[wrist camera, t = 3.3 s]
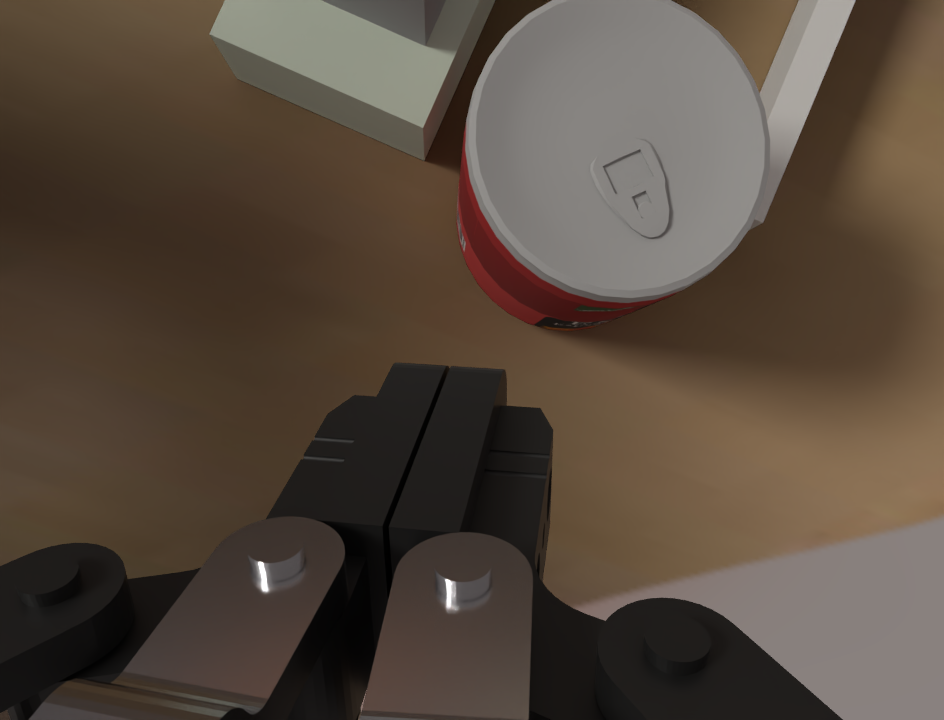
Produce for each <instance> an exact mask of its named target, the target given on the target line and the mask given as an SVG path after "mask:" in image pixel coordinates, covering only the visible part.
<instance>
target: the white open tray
mask: <svg viewBox="0 0 944 720" xmlns="http://www.w3.org/2000/svg"><path fill="white" fill-rule="evenodd" d="M855 1H856V0H799V1H798V3H797V6H796V8H795V11H794V13H793V15H792V18H791V20H790V22H789V25H788V27H787V30H786V32H785V34H784V37H783V39H782V41H781V44H780V46H779V49H778V51H777V53H776V56H775V58H774V61H773V63H772V65H771V68H770V70H769V72H768V75H767V77H766V80H765V82H764V84H763V87H762V89H761V91H760V97H761V100H762V103H763V105H764V108H765V112H766V118H767V124H768V130H769V135H770V170H769V175H768V179H767V184H766V189H765V193H764V198H763V201H762V203H761V205H760V208H759V210H758V212H757V214H756V217H755V219H754V221H753V224H752V226H751V227H750V229H749V230H751V229H753V228H754V227H756V226H758V225H760V224H762V223H763V222H764V219H765V217H766V215H767V212H768V210H769V207H770V205H771V203H772V200H773V198H774V195H775V193H776V191H777V188H778V186H779V183H780V181H781V179H782V176H783V174H784V171H785V169H786V166H787V164H788V162H789V159H790V157H791V154H792V152H793V150H794V147H795V145H796V142H797V140H798V138H799V135H800V133H801V130H802V128H803V126H804V123H805V121H806V118H807V116H808V114H809V111H810V109H811V106H812V104H813V102H814V99H815V97H816V94H817V92H818V90H819V87H820V85H821V82H822V80H823V78H824V75H825V73H826V70H827V68H828V66H829V63H830V61H831V58H832V56H833V54H834V51H835V49H836V46H837V44H838V42H839V39H840V37H841V34H842V32H843V30H844V27H845V25H846V22H847V20H848V18H849V15H850V13H851V10H852V8H853V6H854V3H855ZM494 2H495V0H225V1H224V4H223V6H222V8H221V10H220V12H219V14H218V17H217V19H216V21H215V23H214V25H213V27H212V30H211V32H210V36H211V37H212V39H213V41H214V42H215V44H216V46H217V47H218V49H219V50H220V52H221V54H222V55H223V57H224V59H225V60H226V62H227V63H228V65H229V67H230V68H231V70H232V71H233V73H234V75H235V76H236V78H237V79H239V80H241V81H243V82H245V83H248V84H250V85H252V86H255V87H257V88H259V89H261V90H264V91H266V92H268V93H271V94H273V95H275V96H277V97H280V98H282V99H284V100H287V101H289V102H291V103H293V104H296V105H298V106H300V107H302V108H305V109H307V110H309V111H312V112H314V113H316V114H318V115H321V116H323V117H325V118H328V119H330V120H332V121H334V122H337V123H339V124H341V125H343V126H346V127H348V128H350V129H353V130H355V131H357V132H359V133H362V134H364V135H366V136H369V137H371V138H373V139H375V140H378V141H380V142H382V143H385V144H387V145H389V146H391V147H394V148H396V149H398V150H400V151H403V152H405V153H407V154H410V155H412V156H414V157H416V158H419V159H421V160H423V161H425V158H426V156H427V154H428V152H429V149H430V147H431V145H432V143H433V140H434V138H435V136H436V133H437V131H438V129H439V127H440V124H441V122H442V120H443V118H444V115H445V113H446V111H447V109H448V106H449V104H450V102H451V100H452V97H453V95H454V93H455V90H456V88H457V86H458V84H459V81H460V79H461V77H462V75H463V72H464V70H465V68H466V66H467V63H468V61H469V59H470V57H471V54H472V52H473V50H474V47H475V45H476V43H477V41H478V38H479V36H480V34H481V32H482V29H483V27H484V25H485V23H486V20H487V18H488V16H489V14H490V11H491V9H492V7H493V4H494ZM749 230H748V231H749Z"/></svg>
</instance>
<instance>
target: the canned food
mask: <svg viewBox="0 0 944 720" xmlns="http://www.w3.org/2000/svg"><path fill="white" fill-rule="evenodd" d="M769 170H770V135H769V130H768V124H767V118H766V112H765V108H764V105H763V103H762V100H761V97H760V94H759V92H758V89H757V86H756V84H755V81H754V79H753V77H752V76H751V74H750V72H749V71H748V69H747V67H746V66H745V64H744V62H743V61H742V59H741V57H740V56H739V54H738V53H737V52H736V51H735V50H734V48H733V47H732V46H731V45H730V44H729V43H728V42H727V40H726V39H725V38H724V37H723V36H722V35H721V34H720V33H719V31H717V30H716V29H715V28H714V27H712V26H711V25H710V24H708V23H707V22H706V21H705V20H703V19H702V18H701V17H700V16H698V15H697V14H696V13H694V12H692V11H690V10H689V9H687V8H685V7H683V6H681V5H679V4H677V3H675V2H673V1H671V0H552V1H550V2H548V3H547V4H545V5H543V6H541V7H540V8H538V9H536V10H534V11H533V12H531V13H529V14H528V15H526V16H525V17H524V18H523V19H522V20H521V21H520V22H519V23H518V24H516V25H515V26H514V27H513V28H512V29H511V30H510V31H509V32H507V33H506V35H505V36H504V37H503V39H502V40H501V41H500V43H499V44H498V45H497V47H496V48H495V50H494V51H493V52H492V54H491V55H490V56H489V58H488V60H487V62H486V64H485V66H484V68H483V71H482V73H481V75H480V77H479V79H478V81H477V84H476V86H475V88H474V90H473V93H472V98H471V102H470V106H469V111H468V115H467V119H466V126H465V131H464V137H463V148H462V158H461V169H460V179H459V189H458V200H457V223H456V224H457V230H458V237H459V243H460V247H461V250H462V253H463V255H464V258H465V261H466V264H467V266H468V268H469V270H470V271H471V273H472V275H473V276H474V278H475V280H476V281H477V283H478V285H479V286H480V287H481V288H482V289H483V290H484V292H485V293H486V294H487V295H488V296H489V297H490V298H491V300H492V301H494V302H495V303H496V304H497V305H499V306H500V307H501V308H503V309H504V310H505V311H506V312H508V313H509V314H511V315H513V316H515V317H517V318H519V319H520V320H522V321H524V322H526V323H528V324H532V325H535V326H539V327H542V328H546V329H551V330H564V331H573V330H580V329H588V328H592V327H595V326H598V325H601V324H604V323H607V322H610V321H612V320H614V319H617V318H619V317H622V316H624V315H627V314H629V313H631V312H634V311H636V310H639V309H641V308H643V307H646V306H648V305H651V304H653V303H656V302H658V301H660V300H663V299H665V298H668V297H670V296H672V295H674V294H676V293H677V292H680V291H682V290H684V289H686V288H687V287H689V286H691V285H692V284H694V283H696V282H697V281H699V280H701V279H702V278H704V277H705V276H707V275H709V274H710V273H711V272H712V271H713V270H714V269H715V268H716V267H717V266H718V265H719V264H720V263H721V262H722V261H723V260H725V259H726V258H727V257H728V256H729V255H730V254H731V253H732V252H733V251H734V250H735V249H736V247H737V246H738V244H739V243H740V242H741V240H742V239H743V237H744V236H745V234H746V233H747V232H748V230H749V229H750V227H751V226H752V224H753V221H754V219H755V217H756V214H757V212H758V210H759V208H760V205H761V203H762V201H763V198H764V193H765V189H766V184H767V179H768V175H769Z"/></svg>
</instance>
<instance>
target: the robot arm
mask: <svg viewBox="0 0 944 720" xmlns="http://www.w3.org/2000/svg"><path fill="white" fill-rule="evenodd" d="M552 449H553V429H552V427H551V426H550V424H549V422H548V420H547V419H546V417H545V415H544V414H543V412H542V410H541V409H540V408H530V407H516V406H507V381H506V372H505V370H504V369H488V368H472V367H456V366H451V367H450V368H449V366H443V365H427V364H411V363H394V364H393V366H392V368H391V370H390V371H389V373H388V375H387V377H386V379H385V381H384V383H383V385H382V387H381V389H380V391H379V393H378V395H377V397H372V396H358V395H354V396H352V397H351V398H350V399H348V400H347V401H345V402H344V403H342V404H341V405H340V406H338V407H337V408H335V409H334V410H332V411H331V412H330V413H328V414H327V416H326V418H325V420H324V421H323V423H322V425H321V426H320V428H319V430H318V431H317V433H316V435H315V440H314V441H312V442H311V443H310V445H309V447H308V448H307V450H306V452H305V453H304V459H303V460H300V462H299V464H298V465H297V467H296V469H295V470H294V472H293V474H292V476H291V477H290V479H289V481H288V482H287V484H286V486H285V487H284V489H283V491H282V493H281V494H280V496H279V498H278V499H277V501H276V503H275V504H274V506H273V508H272V510H271V511H270V513H269V515H268V516H267V518H266V520H262V521H258V522H255V523H252V524H250V525H247V526H245V527H243V528H241V529H239V530H237V531H236V532H234V533H233V534H231V535H230V536H228V537H227V538H226V539H225V540H223V541H222V542H221V543H220V545H219V546H218V547H217V548H216V549H215V550H214V552H213V553H212V554H211V556H210V557H209V558H208V560H207V561H206V562H205V564H204V565H203V566H202V568H198V569H194V570H190V571H184V572H179V573H171V574H164V575H156V576H149V577H141V578H134V579H127V575H126V571H125V567H124V564H123V561H122V560H121V558H120V557H119V556H118V555H117V554H116V553H115V552H114V551H112V550H110V549H108V548H106V547H103V546H100V545H96V544H89V543H70V544H62V545H56V546H51V547H48V548H44V549H41V550H38V551H35V552H33V553H30V554H27V555H25V556H23V557H20V558H18V559H16V560H14V561H11V562H9V563H7V564H4V565H2V566H0V713H1V712H3V711H5V710H6V709H7V711H8V713H9V716H10V719H11V720H843V719H841V718H840V717H839V716H838V715H837V714H835V712H833V711H832V710H831V709H830V708H829V707H828V706H827V705H825V704H824V703H823V702H822V701H821V700H820V699H819V698H817V697H816V696H815V695H814V694H813V693H811V691H809V690H808V689H807V688H806V687H805V686H804V685H803V684H801V683H800V682H799V681H798V680H797V679H796V678H795V677H793V676H792V675H791V674H790V673H789V672H788V671H787V670H785V669H784V668H783V667H782V666H781V665H780V664H779V663H778V662H776V661H775V660H774V659H773V658H772V657H771V656H770V655H768V654H767V653H766V652H765V651H764V650H762V649H761V648H760V647H759V646H758V645H757V644H756V643H755V642H754V641H752V640H751V639H750V638H749V637H748V636H747V635H746V634H744V633H743V632H742V631H741V630H740V629H739V628H738V627H736V626H735V625H734V624H733V623H732V622H730V621H729V620H728V619H726V618H725V617H724V616H722V615H720V614H719V613H717V612H715V611H713V610H712V609H709V608H707V607H704V606H702V605H700V604H696V603H693V602H689V601H686V600H680V599H673V598H651V599H645V600H640V601H636V602H633V603H630V604H627V605H626V606H624V607H622V608H620V609H618V610H617V611H616V612H614V613H613V614H612V615H611V616H610V617H609V618H608V619H607V620H606V621H604V620H601V619H598V618H595V617H593V616H590V615H587V614H584V613H582V612H580V611H578V610H575V609H573V608H572V607H570V606H568V605H566V604H565V603H563V602H562V601H560V600H559V599H558V598H556V597H555V596H554V595H553V594H552V593H551V592H550V591H549V590H548V589H547V588H546V587H545V585H544V584H543V582H542V581H543V572H544V566H545V558H546V550H547V542H548V534H549V527H550V507H551V478H552ZM366 690H367V692H366ZM365 693H366V696H365ZM364 696H365V700H364V705H363V709H362V713H361V704H362V702H363V698H364Z"/></svg>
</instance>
